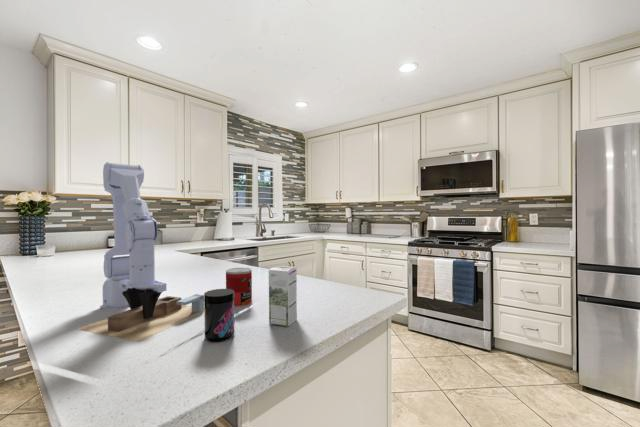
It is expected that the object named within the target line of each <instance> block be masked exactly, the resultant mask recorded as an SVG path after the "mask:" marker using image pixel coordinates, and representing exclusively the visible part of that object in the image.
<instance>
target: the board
mask: <svg viewBox="0 0 640 427" xmlns="http://www.w3.org/2000/svg"><path fill="white" fill-rule="evenodd" d="M181 306H182V308H181V309H179V310H176V311H174V312H171V313H169V314H163V315H160V316H158V317H155V318H153V319H150V320H148V321H145V322H143V323H140V324H138V325H135V326H132V327H130V328H127V329H125V330H122V331H120V332H114V331H109V330H108V317H107V318H105V319H102V320H98V321H96V322H92V323H90V324H86V325H84V326H80V327H78V328H76V330H79V331H84V332H89V333H94V334H97V335H98V334H99V335H103V336H110V337H114V338H119V339H123V340H124V339H125V340H130V341H134V342H142V341H144V340H146V339H147V338H150V337H152V336H154V335H157V334H159V333H161V332H164V331H165V330H167V329H170V328H172V327H174V326H177V325H178V324H181V323H183V322H185V321H188V320H190V319H192V318H194V317H197V316H198V315H201V314H203V313H204V311H203V312H200V313H197V312H192V305H191V306H189V305H181Z"/></svg>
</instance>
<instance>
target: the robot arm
mask: <svg viewBox="0 0 640 427" xmlns="http://www.w3.org/2000/svg"><path fill="white" fill-rule="evenodd" d="M102 175H103V176H102V179H103V188H104V191H105V192H107V193H109V194H110V197H111V199H112V200H111V201H112V212H113V216H112V217H113V235H114V246H113V247H111V248H110V249H109V250H107V251H106V252H105V254H104V256H103V259H104V260H103V274H104V278H106V280H105V281H104V283H103V284H102V305H100V306H99V308H101V309H105V308H108V307H111V308H123V307H124V308H125V307H129V310H131V309H134V308H137V307H140V306H142V308H143V316H144V319H147V318H150V317H152V316H153V313H154V309H155V305H156V303H157V300H158V299H160V296H161V294H163V292H166V291H167V283H166V282H162V281H158V280H157V279H155V278H156V277H155V274H156V273H155V271H156V270H155V266H156V265H155V257H156V256H155V241H157V238H158V234H159V232H158V231H159V228H158V223H157V220H156V219H154V217H153V216H151V214H150V210H149V206H148V204H147V201H145V200H144V199H141V198H142V197H141V191H140V189H141V187H142V184H143V183H144V180H145V171H144V168H143V167H142V165H139V164H136V165H135V164H125V163H113V162H109V161H108V162H105V163H104V165H103V170H102ZM114 256H116V257H114Z"/></svg>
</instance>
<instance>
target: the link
mask: <svg viewBox="0 0 640 427" xmlns="http://www.w3.org/2000/svg"><path fill="white" fill-rule="evenodd" d="M179 300H182V297H180V296H170V295H166V296H164V297H161V298H160V297H159V298H158V300H157V303H156V305H155V309H154V313H153V316H152V317H150V318H147V319H144V316H143V308H142V306H140V307H137V308H134V309H128V310H125V311H122V312H119V313H115V314H114V315H110V316H107V318H108V330H109V331H114V332H120V331H122V330H125V329H127V328H130V327H132V326H135V325H138V324H140V323H143V322H145V321H148V320H150V319H153V318H155V317H158V316H160V315H163V314H169V313H171V312H174V311H176V310H179V309H181V308H182V306H181V305H178V304H177V301H179Z"/></svg>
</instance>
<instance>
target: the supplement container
mask: <svg viewBox="0 0 640 427" xmlns="http://www.w3.org/2000/svg"><path fill="white" fill-rule="evenodd" d="M203 295H204V312H203V313H204V338H205V339H206V340H207V341H208V342H211V343H219V342H225V341H227V340H230V339H231V338H232V337H233V336H234V335H235V306H234V290H232V289H226V288H217V289H210V290H208V291H206V292H204V294H203Z"/></svg>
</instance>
